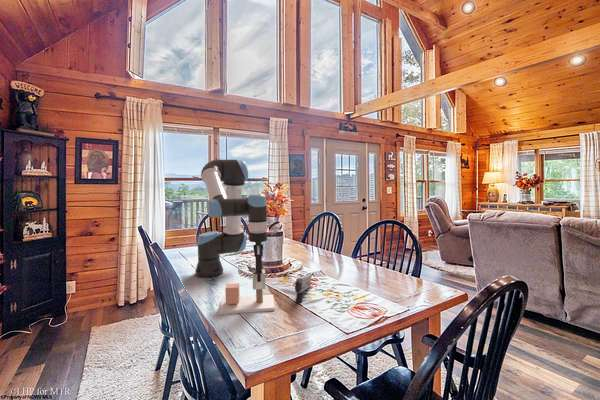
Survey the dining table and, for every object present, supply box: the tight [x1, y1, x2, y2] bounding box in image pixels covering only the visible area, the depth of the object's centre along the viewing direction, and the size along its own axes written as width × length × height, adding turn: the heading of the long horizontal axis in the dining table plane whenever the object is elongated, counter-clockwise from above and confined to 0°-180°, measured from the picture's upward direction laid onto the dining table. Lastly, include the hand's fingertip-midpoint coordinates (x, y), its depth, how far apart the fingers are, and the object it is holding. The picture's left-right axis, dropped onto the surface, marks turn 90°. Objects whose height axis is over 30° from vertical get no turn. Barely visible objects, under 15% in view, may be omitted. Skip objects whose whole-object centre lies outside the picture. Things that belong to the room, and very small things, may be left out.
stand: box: [218, 282, 276, 315], centre depth 126 cm, size 14×22×9 cm, turn 98°
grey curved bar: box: [294, 274, 312, 304], centre depth 137 cm, size 2×25×10 cm, turn 166°
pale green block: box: [251, 268, 266, 291], centre depth 126 cm, size 5×5×7 cm
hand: (259, 286), depth 126 cm, fingers closed on pale green block, 5 cm apart
